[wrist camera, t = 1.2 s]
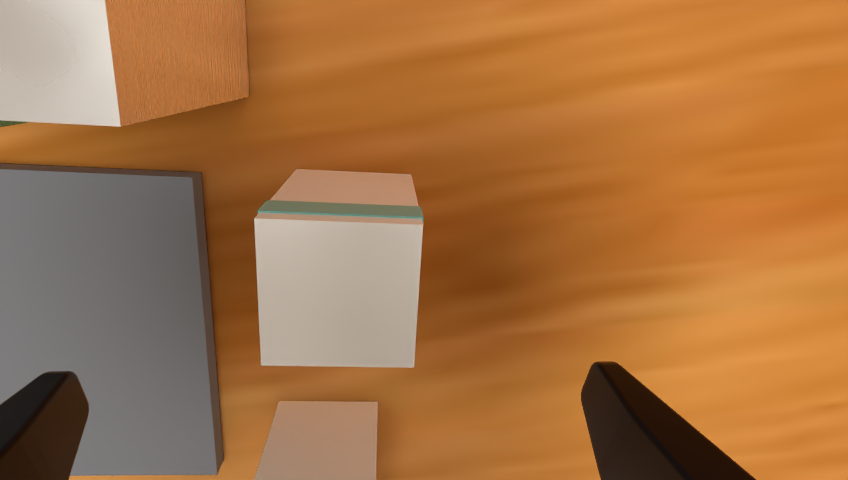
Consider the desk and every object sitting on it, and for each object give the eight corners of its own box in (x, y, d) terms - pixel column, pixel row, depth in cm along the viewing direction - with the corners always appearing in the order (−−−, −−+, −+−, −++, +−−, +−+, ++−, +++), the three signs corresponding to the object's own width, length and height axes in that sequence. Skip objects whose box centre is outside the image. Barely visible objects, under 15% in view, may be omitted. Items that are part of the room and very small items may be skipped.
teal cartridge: (406, 279, 22) (415, 369, 16) (297, 276, 22) (259, 366, 15) (412, 173, 21) (424, 223, 14) (295, 167, 20) (252, 216, 14)
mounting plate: (223, 459, 25) (216, 477, 24) (2, 459, 24) (-17, 479, 23) (201, 172, 20) (190, 178, 19) (-73, 160, 19) (-102, 166, 18)
